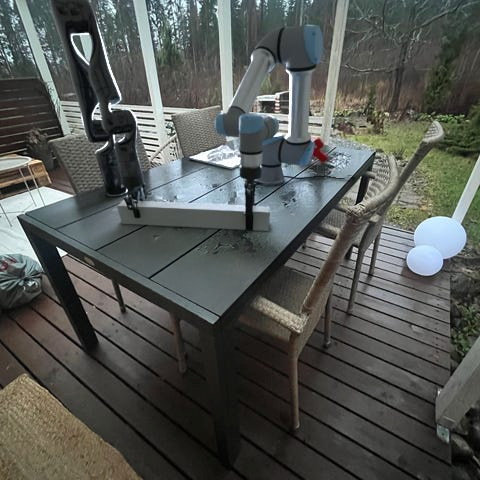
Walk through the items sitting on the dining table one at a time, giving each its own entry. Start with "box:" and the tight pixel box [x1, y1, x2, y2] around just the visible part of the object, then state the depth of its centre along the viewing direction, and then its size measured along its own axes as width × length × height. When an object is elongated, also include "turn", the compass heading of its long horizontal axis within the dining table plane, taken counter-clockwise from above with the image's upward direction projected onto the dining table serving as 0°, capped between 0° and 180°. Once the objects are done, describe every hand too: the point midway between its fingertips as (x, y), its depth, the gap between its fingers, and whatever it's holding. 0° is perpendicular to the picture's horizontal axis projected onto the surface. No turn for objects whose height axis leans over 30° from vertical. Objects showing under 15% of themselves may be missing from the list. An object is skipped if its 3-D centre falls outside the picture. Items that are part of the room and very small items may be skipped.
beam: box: [116, 199, 271, 232], centre depth 103 cm, size 57×5×8 cm, turn 84°
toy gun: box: [311, 136, 329, 165], centre depth 169 cm, size 18×4×15 cm
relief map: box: [189, 144, 240, 170], centre depth 177 cm, size 27×35×5 cm
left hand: (140, 214), depth 105 cm, fingers closed on beam, 5 cm apart
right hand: (249, 225), depth 103 cm, fingers closed on beam, 5 cm apart
